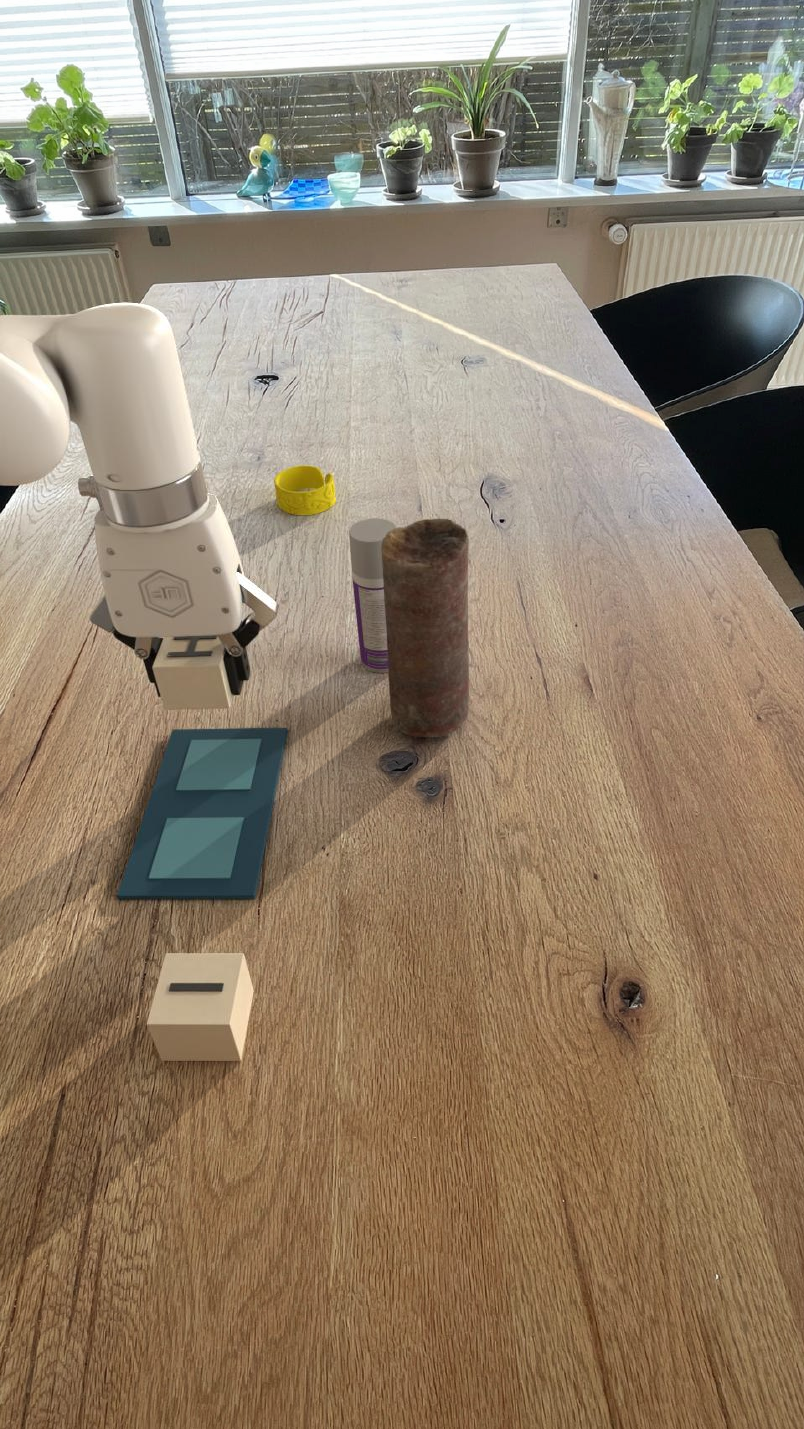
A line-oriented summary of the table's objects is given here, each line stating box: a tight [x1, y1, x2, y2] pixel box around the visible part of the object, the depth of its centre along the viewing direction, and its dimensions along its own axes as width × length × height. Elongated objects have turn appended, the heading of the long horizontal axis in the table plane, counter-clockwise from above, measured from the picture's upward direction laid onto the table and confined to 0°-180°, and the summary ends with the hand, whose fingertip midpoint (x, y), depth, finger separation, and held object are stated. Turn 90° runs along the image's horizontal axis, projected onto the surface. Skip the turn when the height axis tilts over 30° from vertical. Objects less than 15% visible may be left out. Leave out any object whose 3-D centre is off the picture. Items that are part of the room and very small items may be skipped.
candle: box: [381, 517, 470, 738], centre depth 83 cm, size 8×7×20 cm
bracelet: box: [273, 464, 337, 516], centre depth 124 cm, size 7×8×3 cm
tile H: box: [152, 635, 234, 711], centre depth 79 cm, size 6×6×5 cm
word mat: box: [116, 727, 288, 901], centre depth 82 cm, size 11×20×1 cm, turn 178°
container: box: [348, 517, 397, 674], centre depth 93 cm, size 5×5×15 cm
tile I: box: [146, 952, 255, 1062], centre depth 65 cm, size 6×6×5 cm
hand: (202, 684), depth 80 cm, fingers closed on tile H, 5 cm apart
